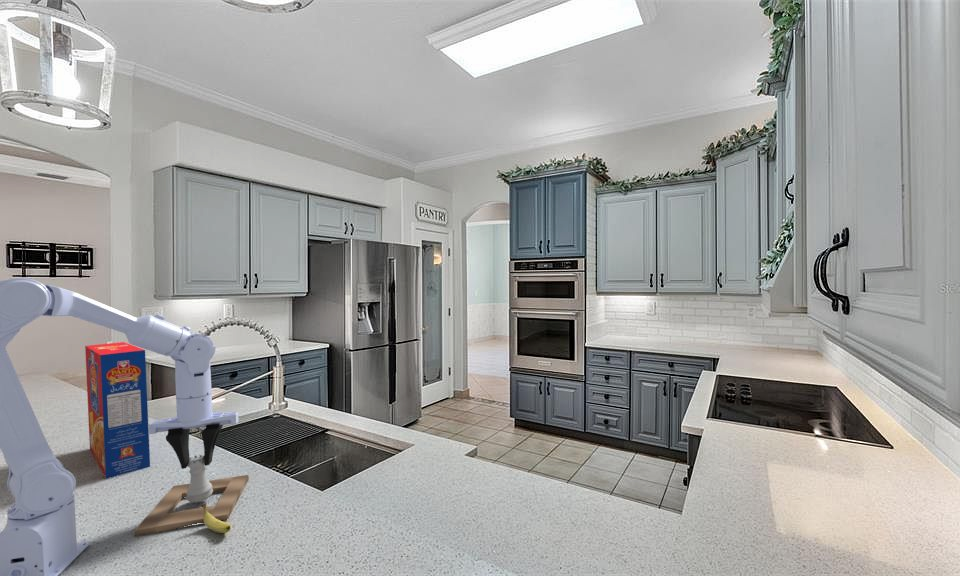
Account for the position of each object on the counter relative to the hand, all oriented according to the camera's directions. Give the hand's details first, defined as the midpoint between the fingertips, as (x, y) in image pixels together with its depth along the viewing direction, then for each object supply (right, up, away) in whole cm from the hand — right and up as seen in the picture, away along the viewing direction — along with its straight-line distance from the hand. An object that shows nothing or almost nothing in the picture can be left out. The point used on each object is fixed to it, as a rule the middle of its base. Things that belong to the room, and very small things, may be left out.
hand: (197, 464), depth 83 cm
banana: (+10, -8, -9) cm, 16 cm away
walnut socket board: (0, -8, 0) cm, 8 cm away
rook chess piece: (0, -7, +1) cm, 7 cm away
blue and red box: (-37, -9, +25) cm, 46 cm away
